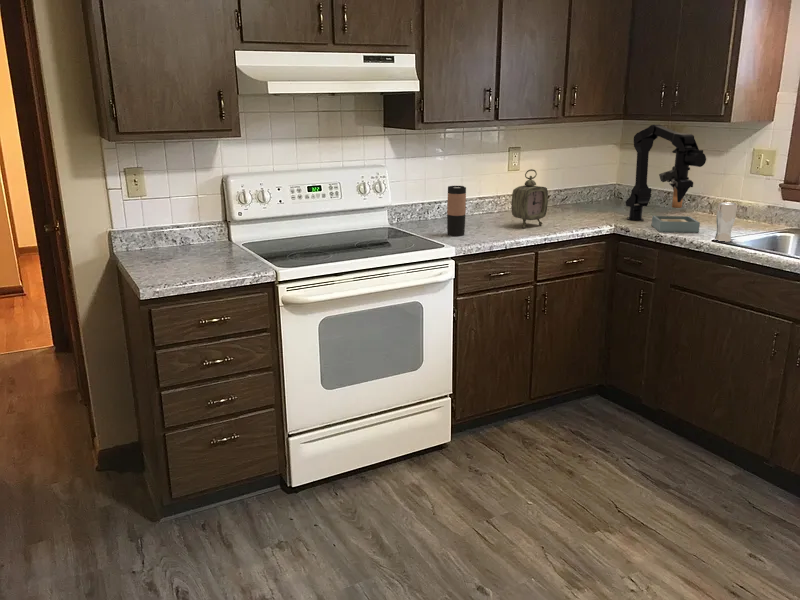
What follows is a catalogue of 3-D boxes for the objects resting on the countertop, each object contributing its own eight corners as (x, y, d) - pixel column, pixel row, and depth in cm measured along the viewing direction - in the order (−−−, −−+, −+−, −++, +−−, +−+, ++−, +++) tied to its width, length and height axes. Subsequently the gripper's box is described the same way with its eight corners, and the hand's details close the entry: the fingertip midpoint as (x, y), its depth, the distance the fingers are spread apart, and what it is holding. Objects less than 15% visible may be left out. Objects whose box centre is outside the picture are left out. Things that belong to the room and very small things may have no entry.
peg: (670, 206, 297) (673, 185, 294) (680, 206, 296) (682, 185, 294) (673, 207, 293) (675, 186, 290) (682, 208, 293) (685, 186, 290)
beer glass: (712, 241, 273) (717, 204, 269) (713, 238, 279) (718, 201, 275) (731, 243, 270) (737, 205, 266) (732, 239, 276) (737, 202, 272)
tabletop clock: (523, 229, 298) (526, 171, 290) (508, 226, 305) (511, 169, 297) (546, 225, 306) (549, 169, 298) (531, 222, 313) (534, 167, 305)
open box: (651, 225, 306) (652, 215, 304) (688, 226, 304) (689, 216, 302) (659, 232, 291) (660, 221, 290) (698, 233, 289) (699, 222, 288)
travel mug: (443, 235, 286) (444, 187, 280) (452, 232, 292) (453, 185, 286) (459, 237, 282) (460, 188, 276) (468, 234, 288) (469, 186, 282)
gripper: (656, 162, 299) (653, 197, 304) (667, 166, 281) (663, 204, 286) (683, 162, 298) (679, 198, 302) (695, 167, 280) (691, 205, 285)
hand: (677, 201), depth 294 cm, fingers closed on peg, 4 cm apart
